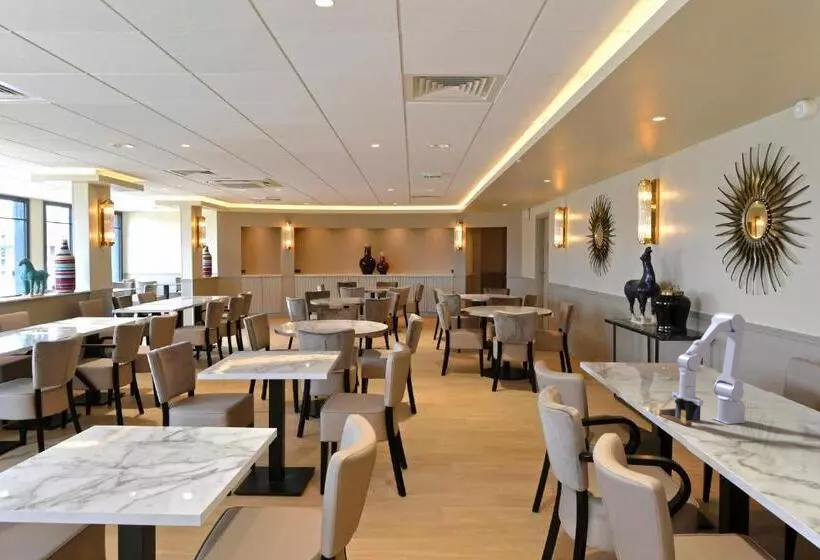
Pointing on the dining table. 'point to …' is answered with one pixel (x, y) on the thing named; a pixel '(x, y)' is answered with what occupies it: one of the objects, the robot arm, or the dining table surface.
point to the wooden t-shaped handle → (669, 412)
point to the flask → (695, 416)
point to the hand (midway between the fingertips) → (686, 419)
